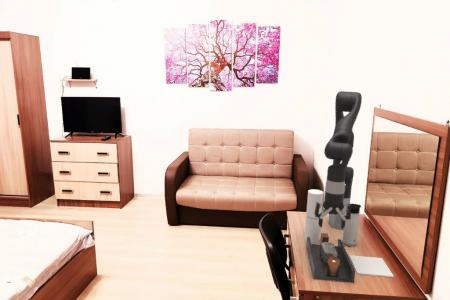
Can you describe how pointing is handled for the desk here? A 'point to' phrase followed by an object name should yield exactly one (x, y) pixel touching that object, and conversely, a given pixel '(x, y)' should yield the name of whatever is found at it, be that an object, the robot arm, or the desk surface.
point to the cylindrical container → (313, 215)
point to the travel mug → (351, 226)
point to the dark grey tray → (330, 262)
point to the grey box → (328, 250)
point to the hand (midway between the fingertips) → (331, 227)
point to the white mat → (370, 266)
